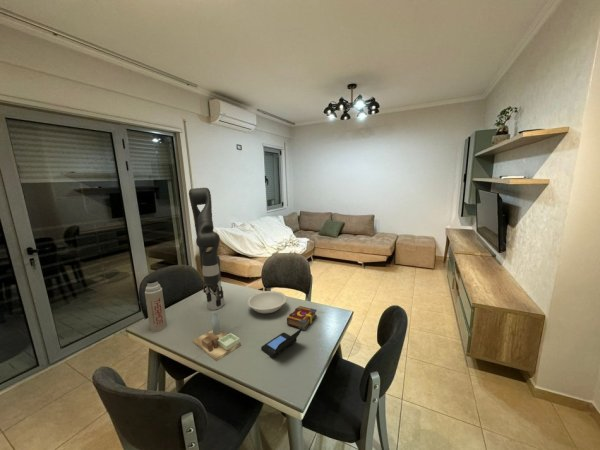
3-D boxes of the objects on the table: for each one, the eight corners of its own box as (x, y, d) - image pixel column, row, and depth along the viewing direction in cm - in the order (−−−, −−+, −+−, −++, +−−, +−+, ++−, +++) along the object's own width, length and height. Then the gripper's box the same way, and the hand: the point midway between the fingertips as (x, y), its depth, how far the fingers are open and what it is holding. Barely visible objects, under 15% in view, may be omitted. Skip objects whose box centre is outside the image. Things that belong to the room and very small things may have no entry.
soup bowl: (270, 324, 133) (270, 313, 132) (239, 313, 146) (238, 303, 145) (294, 305, 153) (294, 295, 152) (265, 297, 166) (264, 288, 165)
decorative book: (286, 325, 132) (286, 316, 132) (300, 311, 146) (300, 303, 146) (304, 330, 127) (304, 321, 126) (317, 315, 141) (317, 307, 140)
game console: (283, 334, 125) (283, 318, 123) (303, 345, 115) (303, 327, 114) (259, 349, 113) (258, 332, 112) (280, 363, 104) (279, 344, 103)
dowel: (217, 330, 127) (215, 312, 125) (221, 332, 125) (219, 314, 123) (211, 333, 124) (209, 315, 122) (215, 336, 122) (213, 318, 120)
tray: (231, 337, 121) (230, 332, 120) (239, 343, 116) (239, 338, 116) (218, 344, 115) (217, 340, 115) (226, 351, 111) (226, 346, 110)
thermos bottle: (166, 330, 131) (160, 280, 126) (149, 334, 127) (142, 284, 122) (167, 323, 138) (161, 276, 133) (150, 327, 134) (144, 279, 129)
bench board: (216, 329, 130) (215, 321, 129) (240, 345, 116) (240, 336, 115) (192, 342, 120) (191, 333, 119) (216, 360, 106) (215, 351, 106)
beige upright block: (213, 338, 120) (212, 333, 119) (219, 342, 117) (218, 337, 116) (202, 345, 115) (201, 339, 115) (207, 349, 112) (207, 343, 112)
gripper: (226, 273, 118) (228, 304, 120) (210, 268, 127) (213, 297, 129) (212, 278, 112) (215, 311, 115) (196, 272, 121) (199, 302, 124)
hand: (213, 303), depth 122 cm, fingers open, 8 cm apart
